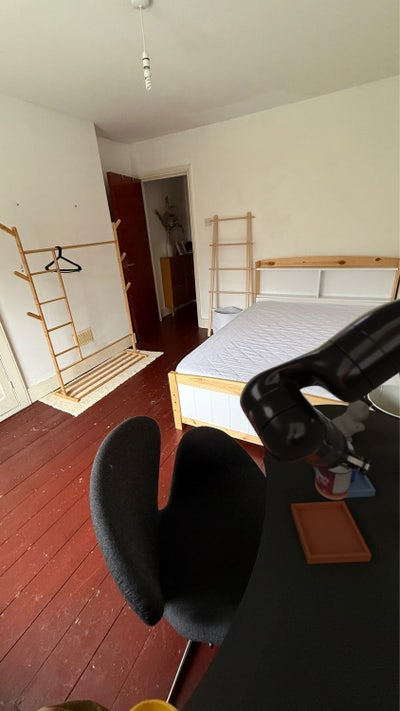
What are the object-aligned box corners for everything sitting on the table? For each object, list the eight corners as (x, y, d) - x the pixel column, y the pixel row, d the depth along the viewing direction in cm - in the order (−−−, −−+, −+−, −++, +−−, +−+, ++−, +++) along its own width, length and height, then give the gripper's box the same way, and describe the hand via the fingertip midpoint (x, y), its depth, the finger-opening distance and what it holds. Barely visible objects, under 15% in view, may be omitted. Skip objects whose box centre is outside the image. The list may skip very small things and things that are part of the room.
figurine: (364, 452, 84) (373, 408, 78) (326, 441, 89) (332, 400, 83) (366, 433, 91) (374, 392, 85) (330, 424, 96) (336, 385, 90)
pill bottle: (308, 480, 63) (313, 438, 58) (334, 473, 64) (341, 431, 59) (327, 504, 57) (334, 460, 53) (354, 496, 59) (364, 453, 54)
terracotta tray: (342, 506, 70) (343, 500, 69) (369, 561, 59) (371, 554, 58) (290, 509, 70) (291, 503, 69) (307, 564, 59) (308, 558, 58)
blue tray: (352, 461, 82) (353, 456, 81) (374, 496, 72) (375, 490, 71) (311, 463, 82) (312, 458, 81) (327, 498, 72) (328, 493, 71)
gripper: (376, 439, 42) (386, 456, 54) (285, 402, 52) (311, 424, 64) (356, 489, 41) (371, 495, 53) (267, 442, 51) (297, 456, 63)
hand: (338, 456), depth 59 cm, fingers closed on pill bottle, 6 cm apart
